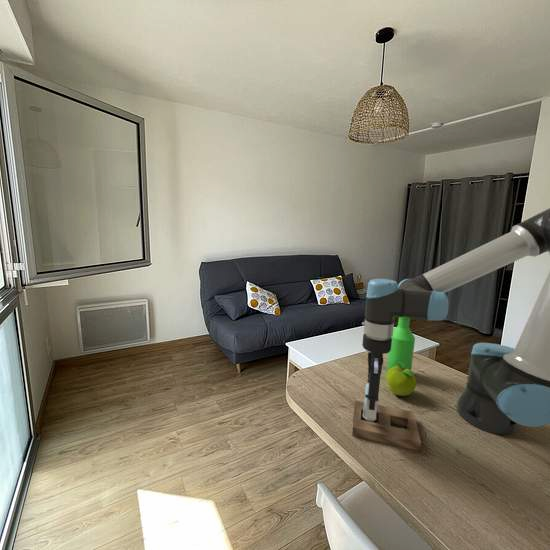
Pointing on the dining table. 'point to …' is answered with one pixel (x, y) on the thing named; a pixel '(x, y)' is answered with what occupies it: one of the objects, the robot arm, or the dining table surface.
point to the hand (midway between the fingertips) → (370, 411)
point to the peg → (365, 406)
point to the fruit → (401, 380)
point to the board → (387, 426)
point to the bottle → (401, 345)
